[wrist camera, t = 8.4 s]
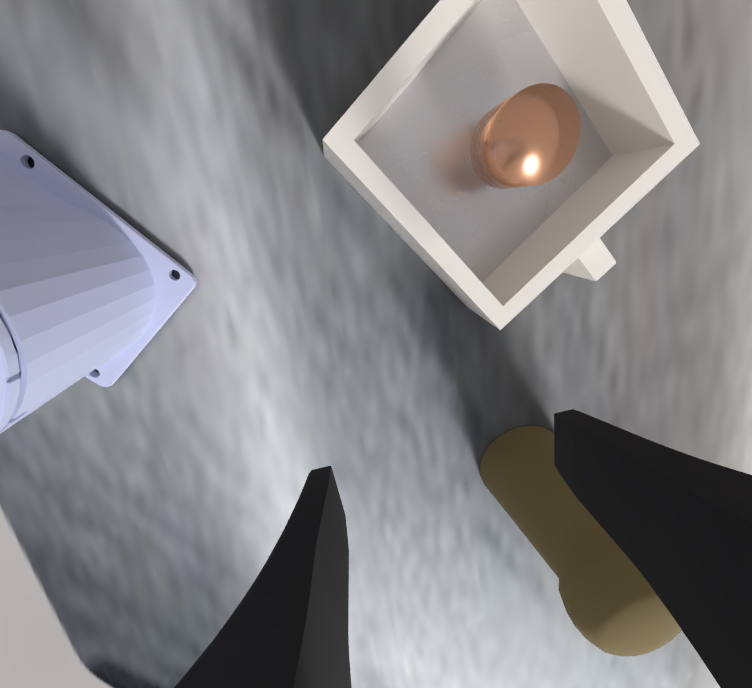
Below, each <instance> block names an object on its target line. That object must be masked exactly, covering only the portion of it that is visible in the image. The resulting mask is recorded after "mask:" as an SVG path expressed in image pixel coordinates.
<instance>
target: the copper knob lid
mask: <svg viewBox="0 0 752 688" xmlns="http://www.w3.org/2000/svg"><path fill="white" fill-rule="evenodd" d="M358 145H359V146H360V148H361V149H362V150H363V151H364V152H365V153H366V154H367V155H368V156H369V158H370V159H371V160H372V161H373V162H374V163H375V164H376V165H377V166H378V168H379V169H380V170H381V171H382V172H383V173H384V174H385V175H386V176H387V178H388V179H389V180H390V181H391V182H392V183H393V184H394V185H395V187H396V188H397V189H398V190H399V191H400V192H401V193H402V194H403V195H404V197H405V198H406V199H407V200H408V201H409V202H410V203H411V204H412V205H413V207H414V208H415V209H416V210H417V211H418V212H419V213H420V214H421V215H422V217H423V218H424V219H425V220H426V221H427V222H428V223H429V224H430V225H431V227H432V228H433V229H434V230H435V231H436V232H437V233H438V234H439V236H440V237H441V238H442V239H443V240H444V241H445V242H446V243H447V244H448V246H449V247H450V248H451V249H452V250H453V251H454V252H455V253H456V254H457V256H458V257H459V258H460V259H461V260H462V261H463V262H464V263H465V264H466V266H467V267H468V268H469V269H470V270H471V271H472V272H473V273H474V274H475V276H476V277H477V278H478V279H479V280H480V281H481V282H483V281H484V280H485V279H486V278H487V277H488V276H489V275H490V274H491V273H492V272H493V271H495V270H496V269H497V268H498V267H499V266H500V265H501V264H502V263H503V262H504V261H505V260H506V259H507V258H508V257H509V256H510V255H511V254H512V253H513V252H514V251H515V250H516V249H517V248H518V247H519V246H520V245H521V244H522V243H523V242H524V241H525V240H526V239H527V238H528V237H529V236H530V235H531V234H532V233H534V232H535V231H536V230H537V229H538V228H539V227H540V226H541V225H542V224H543V223H544V222H545V221H546V220H547V219H548V218H549V217H550V216H551V215H552V214H553V213H554V212H555V211H556V210H557V209H558V208H559V207H560V206H561V205H562V204H563V203H564V202H565V201H566V200H567V199H568V198H569V197H570V196H571V195H572V194H574V193H575V192H576V191H577V190H578V189H579V188H580V187H581V186H582V185H583V184H584V183H585V182H586V181H587V180H588V179H589V178H590V177H591V176H592V175H593V174H594V173H595V172H596V171H597V170H598V169H599V168H600V167H601V166H602V165H603V164H604V163H605V162H606V161H607V160H608V159H609V158H610V157H611V156H612V154H611V153H610V151H609V149H608V148H607V146H606V144H605V143H604V141H603V140H602V138H601V136H600V135H599V133H598V132H597V130H596V128H595V127H594V125H593V123H592V122H591V120H590V119H589V117H588V115H587V114H586V112H585V111H584V109H583V107H582V106H581V104H580V102H579V101H578V99H577V98H576V96H575V94H574V93H573V91H572V89H571V88H570V86H569V85H568V83H567V81H566V80H565V78H564V77H563V75H562V73H561V72H560V70H559V68H558V67H557V65H556V64H555V62H554V60H553V59H552V57H551V56H550V54H549V52H548V51H547V49H546V47H545V46H544V44H543V43H542V41H541V39H540V38H539V36H538V35H537V33H536V31H535V30H534V28H533V26H532V25H531V23H530V22H529V20H528V18H527V17H526V15H525V14H524V12H523V10H522V9H521V7H520V5H519V4H518V2H517V1H516V0H482V1H481V2H480V3H479V4H478V5H477V6H476V7H475V9H474V10H473V11H472V12H471V13H470V14H469V16H468V17H467V18H466V19H465V20H464V21H463V22H462V24H461V25H460V26H459V27H458V28H457V29H456V31H455V32H454V33H453V34H452V35H451V36H450V38H449V39H448V40H447V41H446V42H445V43H444V44H443V46H442V47H441V48H440V49H439V50H438V51H437V53H436V54H435V55H434V56H433V57H432V58H431V59H430V61H429V62H428V63H427V64H426V65H425V66H424V68H423V69H422V70H421V71H420V72H419V73H418V74H417V76H416V77H415V78H414V79H413V80H412V81H411V83H410V84H409V85H408V86H407V87H406V88H405V90H404V91H403V92H402V93H401V94H400V95H399V96H398V98H397V99H396V100H395V101H394V102H393V103H392V105H391V106H390V107H389V108H388V109H387V110H386V111H385V113H384V114H383V115H382V116H381V117H380V118H379V120H378V121H377V122H376V123H375V124H374V125H373V126H372V128H371V129H370V130H369V131H368V132H367V133H366V135H365V136H364V137H363V138H362V139H361V140H360V142H359V143H358Z"/></svg>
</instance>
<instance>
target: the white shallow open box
mask: <svg viewBox="0 0 752 688" xmlns="http://www.w3.org/2000/svg"><path fill="white" fill-rule="evenodd" d="M481 1H482V0H440V1H439V2H438V3H437V4H436V6H435V7H434V8H433V9H432V10H431V11H430V13H429V14H428V15H427V16H426V17H425V19H424V20H423V21H422V22H421V23H420V25H419V26H418V27H417V28H416V29H415V30H414V32H413V33H412V34H411V35H410V36H409V38H408V39H407V40H406V41H405V42H404V44H403V45H402V46H401V47H400V48H399V49H398V51H397V52H396V53H395V54H394V55H393V57H392V58H391V59H390V60H389V61H388V63H387V64H386V65H385V66H384V67H383V68H382V70H381V71H380V72H379V73H378V74H377V76H376V77H375V78H374V79H373V80H372V82H371V83H370V84H369V85H368V86H367V87H366V89H365V90H364V91H363V92H362V93H361V95H360V96H359V97H358V98H357V99H356V101H355V102H354V103H353V104H352V105H351V106H350V108H349V109H348V110H347V111H346V112H345V114H344V115H343V116H342V117H341V118H340V120H339V121H338V122H337V123H336V124H335V125H334V127H333V128H332V129H331V130H330V131H329V133H328V134H327V135H326V136H325V137H324V139H323V150H324V157H325V158H326V159H327V160H328V161H329V162H330V163H331V164H332V165H333V166H334V167H335V168H336V169H337V170H338V172H339V173H340V174H341V175H342V176H343V177H344V178H345V179H346V180H347V181H348V182H349V183H350V184H351V185H352V186H353V187H354V188H355V189H356V191H357V192H358V193H359V194H360V195H361V196H362V197H363V198H364V199H365V200H366V201H367V202H368V203H369V204H370V205H371V206H372V207H373V208H374V210H375V211H376V212H377V213H378V214H379V215H380V216H381V217H382V218H383V219H384V220H385V221H386V222H387V223H388V224H389V225H390V226H391V227H392V228H393V230H394V231H395V232H396V233H397V234H398V235H399V236H400V237H401V238H402V239H403V240H404V241H405V242H406V243H407V244H408V245H409V246H410V247H411V249H412V250H413V251H414V252H415V253H416V254H417V255H418V256H419V257H420V258H421V259H422V260H423V261H424V262H425V263H426V264H427V265H428V266H429V267H430V269H431V270H432V271H433V272H434V273H435V274H436V275H437V276H438V277H439V278H440V279H441V280H442V281H443V282H444V283H445V284H446V285H447V286H448V288H449V289H450V290H451V291H452V292H453V293H454V294H455V295H456V296H457V297H458V298H459V299H460V300H461V301H462V302H463V303H464V304H465V305H466V306H467V307H468V308H469V309H471V310H472V311H474V312H475V313H477V314H478V315H479V316H481V317H482V318H484V319H485V320H486V321H488V322H489V323H491V324H492V325H494V326H495V327H496V328H498V329H499V330H501V329H502V328H503V327H504V326H505V325H506V324H508V323H509V322H510V321H511V320H512V319H513V318H514V317H515V316H516V315H517V314H518V313H519V312H520V311H521V310H523V309H524V308H525V307H526V306H527V305H528V304H529V303H530V302H531V301H532V300H533V299H534V298H535V297H536V296H538V295H539V294H540V293H541V292H542V291H543V290H544V289H545V288H546V287H547V286H548V285H549V284H550V283H551V282H552V281H554V280H555V279H556V278H557V277H558V276H559V275H560V274H561V273H562V272H563V273H567V274H571V275H574V276H578V277H582V278H585V279H589V280H593V281H597V280H598V279H599V278H600V277H601V276H603V275H604V274H605V273H606V272H607V271H608V270H609V269H610V268H611V267H612V266H614V265H615V264H616V263H617V262H616V261H615V260H614V258H613V257H612V255H611V254H610V252H609V251H608V249H607V248H606V247H605V245H604V244H603V242H602V241H601V239H600V237H601V236H602V235H603V234H604V233H605V232H606V231H607V230H608V229H609V228H610V227H611V226H612V225H614V224H615V223H616V222H617V221H618V220H619V219H620V218H621V217H622V216H623V215H624V214H625V213H626V212H627V211H629V210H630V209H631V208H632V207H633V206H634V205H635V204H636V203H637V202H638V201H639V200H640V199H641V198H642V197H644V196H645V195H646V194H647V193H648V192H649V191H650V190H651V189H652V188H653V187H654V186H655V185H656V184H657V183H659V182H660V181H661V180H662V179H663V178H664V177H665V176H666V175H667V174H668V173H669V172H670V171H671V170H672V169H674V168H675V167H676V166H677V165H678V164H679V163H680V162H681V161H682V160H683V159H684V158H685V157H686V156H687V155H689V154H690V153H691V152H692V151H693V150H694V149H695V148H696V147H697V146H698V145H699V144H700V143H699V141H698V139H697V138H696V136H695V134H694V132H693V130H692V128H691V126H690V124H689V122H688V120H687V118H686V116H685V114H684V112H683V110H682V108H681V106H680V104H679V102H678V100H677V98H676V97H675V95H674V93H673V91H672V89H671V87H670V85H669V83H668V81H667V79H666V77H665V75H664V73H663V71H662V69H661V67H660V65H659V63H658V61H657V59H656V57H655V55H654V54H653V52H652V50H651V48H650V46H649V44H648V42H647V40H646V38H645V36H644V34H643V32H642V30H641V28H640V26H639V24H638V22H637V20H636V18H635V16H634V14H633V13H632V11H631V9H630V7H629V5H628V3H627V1H626V0H516V1H517V2H518V4H519V5H520V7H521V9H522V10H523V12H524V14H525V15H526V17H527V18H528V20H529V22H530V23H531V25H532V26H533V28H534V30H535V31H536V33H537V35H538V36H539V38H540V39H541V41H542V43H543V44H544V46H545V47H546V49H547V51H548V52H549V54H550V56H551V57H552V59H553V60H554V62H555V64H556V65H557V67H558V68H559V70H560V72H561V73H562V75H563V77H564V78H565V80H566V81H567V83H568V85H569V86H570V88H571V89H572V91H573V93H574V94H575V96H576V98H577V99H578V101H579V102H580V104H581V106H582V107H583V109H584V111H585V112H586V114H587V115H588V117H589V119H590V120H591V122H592V123H593V125H594V127H595V128H596V130H597V132H598V133H599V135H600V136H601V138H602V140H603V141H604V143H605V144H606V146H607V148H608V149H609V151H610V153H611V154H612V156H611V157H610V158H609V159H608V160H607V161H606V162H605V163H604V164H603V165H602V166H601V167H600V168H599V169H598V170H597V171H596V172H595V173H594V174H593V175H592V176H591V177H590V178H589V179H588V180H587V181H586V182H585V183H584V184H583V185H582V186H581V187H580V188H579V189H578V190H577V191H576V192H575V193H574V194H572V195H571V196H570V197H569V198H568V199H567V200H566V201H565V202H564V203H563V204H562V205H561V206H560V207H559V208H558V209H557V210H556V211H555V212H554V213H553V214H552V215H551V216H550V217H549V218H548V219H547V220H546V221H545V222H544V223H543V224H542V225H541V226H540V227H539V228H538V229H537V230H536V231H535V232H534V233H532V234H531V235H530V236H529V237H528V238H527V239H526V240H525V241H524V242H523V243H522V244H521V245H520V246H519V247H518V248H517V249H516V250H515V251H514V252H513V253H512V254H511V255H510V256H509V257H508V258H507V259H506V260H505V261H504V262H503V263H502V264H501V265H500V266H499V267H498V268H497V269H496V270H495V271H493V272H492V273H491V274H490V275H489V276H488V277H487V278H486V279H485V280H484V281H483V282H481V281H480V280H479V279H478V278H477V277H476V276H475V274H474V273H473V272H472V271H471V270H470V269H469V268H468V267H467V266H466V264H465V263H464V262H463V261H462V260H461V259H460V258H459V257H458V256H457V254H456V253H455V252H454V251H453V250H452V249H451V248H450V247H449V246H448V244H447V243H446V242H445V241H444V240H443V239H442V238H441V237H440V236H439V234H438V233H437V232H436V231H435V230H434V229H433V228H432V227H431V225H430V224H429V223H428V222H427V221H426V220H425V219H424V218H423V217H422V215H421V214H420V213H419V212H418V211H417V210H416V209H415V208H414V207H413V205H412V204H411V203H410V202H409V201H408V200H407V199H406V198H405V197H404V195H403V194H402V193H401V192H400V191H399V190H398V189H397V188H396V187H395V185H394V184H393V183H392V182H391V181H390V180H389V179H388V178H387V176H386V175H385V174H384V173H383V172H382V171H381V170H380V169H379V168H378V166H377V165H376V164H375V163H374V162H373V161H372V160H371V159H370V158H369V156H368V155H367V154H366V153H365V152H364V151H363V150H362V149H361V148H360V146H359V145H358V143H359V142H360V140H361V139H362V138H363V137H364V136H365V135H366V133H367V132H368V131H369V130H370V129H371V128H372V126H373V125H374V124H375V123H376V122H377V121H378V120H379V118H380V117H381V116H382V115H383V114H384V113H385V111H386V110H387V109H388V108H389V107H390V106H391V105H392V103H393V102H394V101H395V100H396V99H397V98H398V96H399V95H400V94H401V93H402V92H403V91H404V90H405V88H406V87H407V86H408V85H409V84H410V83H411V81H412V80H413V79H414V78H415V77H416V76H417V74H418V73H419V72H420V71H421V70H422V69H423V68H424V66H425V65H426V64H427V63H428V62H429V61H430V59H431V58H432V57H433V56H434V55H435V54H436V53H437V51H438V50H439V49H440V48H441V47H442V46H443V44H444V43H445V42H446V41H447V40H448V39H449V38H450V36H451V35H452V34H453V33H454V32H455V31H456V29H457V28H458V27H459V26H460V25H461V24H462V22H463V21H464V20H465V19H466V18H467V17H468V16H469V14H470V13H471V12H472V11H473V10H474V9H475V7H476V6H477V5H478V4H479V3H480V2H481Z"/></svg>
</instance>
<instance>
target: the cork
mask: <svg viewBox="0 0 752 688" xmlns="http://www.w3.org/2000/svg"><path fill="white" fill-rule="evenodd" d="M480 476H481V478H482V480H483V482H484V484H485V486H486V487H487V488H488V489H489V491H490V492H491V493H492V495H493V496H494V497H495V498H496V500H497V501H498V502H499V503H500V505H501V506H502V507H503V508H504V510H505V511H506V512H507V513H508V515H509V516H510V517H511V518H512V520H513V521H514V522H515V523H516V525H517V526H518V527H519V529H520V530H521V531H522V532H523V534H524V535H525V536H526V537H527V539H528V540H529V541H530V542H531V544H532V545H533V546H534V547H535V549H536V550H537V551H538V552H539V554H540V555H541V556H542V557H543V559H544V560H545V561H546V563H547V564H548V565H549V566H550V568H551V569H552V570H553V571H554V573H555V574H556V575H557V576H558V578H559V592H560V595H561V597H562V600H563V603H564V606H565V608H566V611H567V613H568V615H569V617H570V618H571V620H572V622H573V624H574V625H575V627H576V628H577V629H578V630H579V631H580V632H581V634H582V635H583V636H584V637H585V638H586V639H587V640H589V641H590V642H591V643H592V644H594V645H595V646H597V647H598V648H599V649H601V650H602V651H604V652H605V653H609V654H613V655H617V656H637V655H641V654H646V653H649V652H651V651H653V650H656V649H658V648H660V647H662V646H663V645H665V644H666V643H668V642H670V641H671V640H672V639H673V638H674V637H675V636H677V635H678V634H679V633H680V632H681V630H682V629H681V628H680V627H679V625H678V624H677V622H676V621H675V619H674V618H673V616H672V615H671V614H670V612H669V611H668V609H667V608H666V607H665V605H664V604H663V603H662V601H661V600H660V598H659V597H658V596H657V594H656V593H655V592H654V590H653V589H652V587H651V586H650V585H649V583H648V582H647V581H646V579H645V578H644V576H643V575H642V574H641V573H640V571H639V570H638V569H637V568H636V566H635V565H634V564H633V563H632V561H631V560H630V559H629V558H628V557H627V556H626V554H625V553H624V552H623V551H622V550H621V549H620V547H619V546H618V545H617V544H616V543H615V542H614V541H613V539H612V538H611V537H610V536H609V535H608V534H607V532H606V531H605V530H604V529H603V528H602V527H601V526H600V524H599V523H598V522H597V521H596V520H595V519H594V517H593V516H592V515H591V514H590V513H589V512H588V510H587V509H586V508H585V507H584V506H583V505H582V503H581V502H580V501H579V500H578V499H577V497H576V496H575V495H574V494H573V492H572V491H571V489H570V488H569V487H568V485H567V484H566V482H565V481H564V479H563V478H562V476H561V475H560V473H559V471H558V470H557V468H556V467H555V465H554V433H553V432H552V431H550V430H548V429H546V428H544V427H541V426H532V425H527V426H522V427H516V428H514V429H512V430H509V431H507V432H505V433H503V434H502V435H500V436H499V437H498V438H497V439H495V440H494V441H493V442H492V443H491V444H490V446H489V447H488V448H487V450H486V451H485V452H484V455H483V458H482V460H481V463H480Z"/></svg>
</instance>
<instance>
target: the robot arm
mask: <svg viewBox="0 0 752 688" xmlns="http://www.w3.org/2000/svg"><path fill="white" fill-rule="evenodd" d="M29 157H31V158H32V159H33V160H34V163H35V165H34V167H33V168H31V167H30V166H29V164H28V158H29ZM173 270H176V271H178V272H179V273H180V279H176V278H174V277H173V276H172V271H173ZM195 286H196V278H195V276H194V275H193V274H192V273H191V272H189V271H188V270H187V269H186V268H184V267H183V266H182V265H181V264H179V263H178V262H177V261H175V260H174V259H173V258H172V257H170V256H169V255H168V254H167V253H165V252H164V251H163V250H162V249H160V248H159V247H158V246H156V245H155V244H154V243H153V242H151V241H150V240H149V239H148V238H146V237H145V236H144V235H142V234H141V233H140V232H139V231H137V230H136V229H135V228H134V227H132V226H131V225H130V224H129V223H127V222H126V221H125V220H123V219H122V218H121V217H120V216H118V215H117V214H116V213H115V212H113V211H112V210H111V209H109V208H108V207H107V206H106V205H104V204H103V203H102V202H101V201H99V200H98V199H97V198H96V197H94V196H93V195H92V194H90V193H89V192H88V191H87V190H85V189H84V188H83V187H82V186H80V185H79V184H78V183H76V182H75V181H74V180H73V179H71V178H70V177H69V176H68V175H66V174H65V173H64V172H62V171H61V170H60V169H59V168H57V167H56V166H55V165H54V164H52V163H51V162H50V161H49V160H47V159H46V158H45V157H43V156H42V155H41V154H40V153H38V152H37V151H36V150H35V149H33V148H32V147H31V146H29V145H28V144H27V143H26V142H24V141H23V140H22V139H21V138H19V137H18V136H17V135H15V134H14V133H12V132H9V131H5V130H0V433H2V432H3V431H5V430H6V429H8V428H9V427H11V426H12V425H14V424H15V423H17V422H18V421H20V420H21V419H22V418H24V417H25V416H27V415H28V414H30V413H31V412H33V411H34V410H36V409H37V408H39V407H40V406H42V405H43V404H44V403H46V402H47V401H49V400H50V399H52V398H53V397H55V396H56V395H58V394H59V393H61V392H62V391H64V390H65V389H66V388H68V387H69V386H71V385H72V384H74V383H75V382H77V381H78V380H80V379H81V378H83V377H84V376H85V377H87V378H88V379H90V380H91V381H93V382H95V383H96V384H98V385H100V386H103V387H108V386H111V385H112V384H113V383H115V382H116V381H117V380H118V378H119V377H120V376H121V375H122V374H123V372H124V371H125V370H126V369H127V368H128V367H129V365H130V364H131V363H132V362H133V361H134V359H135V358H136V357H137V356H138V355H139V353H140V352H141V351H142V350H143V349H144V347H145V346H146V345H147V344H148V343H149V342H150V340H151V339H152V338H153V337H154V336H155V334H156V333H157V332H158V331H159V330H160V328H161V327H162V326H163V325H164V324H165V322H166V321H167V320H168V319H169V318H170V317H171V315H172V314H173V313H174V312H175V311H176V309H177V308H178V307H179V306H180V305H181V303H182V302H183V301H184V300H185V299H186V297H187V296H188V295H189V294H190V293H191V292H192V290H193V289H194V288H195ZM94 369H97V370H98V371H99V373H100V374H96V373H95V372H94V371H93V370H94ZM554 465H555V467H556V468H557V470H558V471H559V473H560V475H561V476H562V478H563V479H564V481H565V482H566V484H567V485H568V487H569V488H570V489H571V491H572V492H573V494H574V495H575V496H576V497H577V499H578V500H579V501H580V502H581V503H582V505H583V506H584V507H585V508H586V509H587V510H588V512H589V513H590V514H591V515H592V516H593V517H594V519H595V520H596V521H597V522H598V523H599V524H600V526H601V527H602V528H603V529H604V530H605V531H606V532H607V534H608V535H609V536H610V537H611V538H612V539H613V541H614V542H615V543H616V544H617V545H618V546H619V547H620V549H621V550H622V551H623V552H624V553H625V554H626V556H627V557H628V558H629V559H630V560H631V561H632V563H633V564H634V565H635V566H636V568H637V569H638V570H639V571H640V573H641V574H642V575H643V576H644V578H645V579H646V581H647V582H648V583H649V585H650V586H651V587H652V589H653V590H654V592H655V593H656V594H657V596H658V597H659V598H660V600H661V601H662V603H663V604H664V605H665V607H666V608H667V609H668V611H669V612H670V614H671V615H672V616H673V618H674V619H675V621H676V622H677V624H678V625H679V627H680V628H681V629H682V631H683V632H684V634H685V635H686V637H687V638H688V640H689V641H690V642H691V644H692V645H693V647H694V648H695V650H696V651H697V653H698V654H699V655H700V657H701V659H702V660H703V662H704V663H705V665H706V666H707V668H708V669H709V671H710V672H711V674H712V675H713V677H714V678H715V680H716V681H717V683H718V684H719V686H720V687H721V688H752V475H750V474H746V473H743V472H740V471H736V470H733V469H730V468H727V467H723V466H720V465H717V464H714V463H710V462H707V461H704V460H701V459H699V458H696V457H693V456H690V455H687V454H685V453H682V452H679V451H676V450H673V449H671V448H668V447H665V446H663V445H660V444H658V443H655V442H652V441H650V440H647V439H645V438H642V437H640V436H638V435H635V434H633V433H630V432H628V431H625V430H623V429H621V428H618V427H616V426H613V425H611V424H609V423H606V422H604V421H601V420H599V419H597V418H594V417H592V416H589V415H587V414H584V413H581V412H579V411H576V410H573V409H572V410H568V411H564V412H559V413H555V414H554ZM348 582H349V548H348V537H347V527H346V518H345V513H344V509H343V506H342V502H341V499H340V495H339V492H338V488H337V485H336V481H335V478H334V475H333V471H332V468H331V466H328V467H323V468H319V469H315V470H311V472H310V473H309V475H308V477H307V480H306V483H305V485H304V487H303V490H302V492H301V495H300V497H299V499H298V501H297V504H296V506H295V508H294V510H293V512H292V514H291V516H290V518H289V520H288V522H287V525H286V527H285V529H284V531H283V533H282V534H281V536H280V538H279V540H278V542H277V544H276V545H275V547H274V549H273V551H272V553H271V555H270V556H269V558H268V560H267V562H266V563H265V565H264V567H263V568H262V570H261V572H260V573H259V575H258V577H257V578H256V580H255V581H254V583H253V584H252V586H251V588H250V589H249V591H248V592H247V594H246V595H245V597H244V598H243V600H242V601H241V602H240V604H239V605H238V607H237V608H236V610H235V611H234V612H233V614H232V615H231V617H230V618H229V619H228V621H227V622H226V624H225V625H224V626H223V628H222V629H221V630H220V632H219V633H218V634H217V636H216V637H215V638H214V640H213V641H212V642H211V644H210V645H209V646H208V647H207V649H206V650H205V651H204V652H203V654H202V655H201V656H200V657H199V658H198V660H197V661H196V662H195V663H194V665H193V666H192V667H191V668H190V670H189V671H188V672H187V673H186V674H185V676H184V677H183V678H182V679H181V681H180V682H179V683H178V684H177V685H176V686H175V688H351V676H350V663H349V644H348Z"/></svg>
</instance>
